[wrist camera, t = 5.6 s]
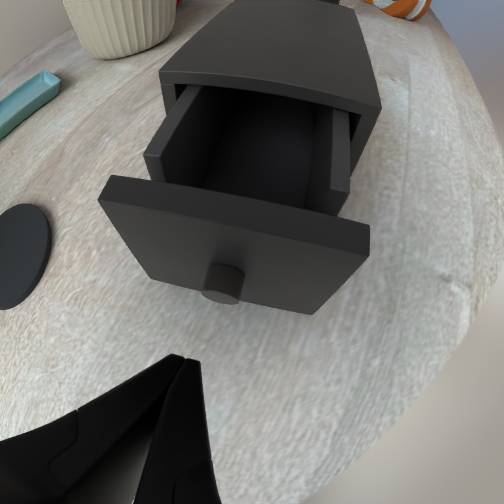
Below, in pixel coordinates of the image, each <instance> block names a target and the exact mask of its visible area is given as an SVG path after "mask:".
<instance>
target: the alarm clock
mask: <svg viewBox="0 0 504 504" xmlns="http://www.w3.org/2000/svg"><path fill="white" fill-rule="evenodd" d="M363 1H365V2H367V3H370V4H374V5H376V6H378V7H380V8H382V9H380V10H382V11H384V12H385V13H387V14H389V15H391V16H394V17H398V18H403V17H404V18H405V19H407V20H410V21H414V20H418V19H419V18H420V17H422V16H423V15H424V14H425V13H426V11H427V10H428V8H429V6H430V3H431V0H363Z"/></svg>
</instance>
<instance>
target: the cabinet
mask: <svg viewBox="0 0 504 504" xmlns="http://www.w3.org/2000/svg"><path fill="white" fill-rule="evenodd" d="M159 78H160V83H161V89H162V95H163V100H164V105H165V111H166V116H167V115H168V113H169V112H170V110H171V109H172V107H173V106H174V105H175V103H176V102H177V100H178V99H179V97H180V96H181V94H182V93H183V92H184V90H185V89H186V88H187V86H188V85H189V84H191V85H205V86H216V87H226V88H234V89H242V90H249V91H256V92H263V93H269V94H275V95H280V96H285V97H291V98H296V99H300V100H305V101H310V102H314V103H318V104H322V105H327V106H331V107H334V108H338V109H342V110H346V111H349V133H350V177H351V175H352V173H353V171H354V169H355V167H356V165H357V162H358V160H359V158H360V156H361V154H362V152H363V150H364V147H365V145H366V143H367V141H368V139H369V136H370V134H371V132H372V130H373V128H374V125H375V123H376V121H377V120H376V119H377V118H378V116H379V114H380V111H381V109H382V106H381V102H380V97H379V93H378V88H377V84H376V80H375V76H374V72H373V69H372V65H371V61H370V58H369V54H368V51H367V47H366V44H365V41H364V38H363V35H362V32H361V29H360V26H359V23H358V20H357V17H356V14H355V12H354V9H351V8H347V7H344V6H340V5H336V4H332V3H327V2H323V1H318V0H235V1H234V2H233V3H231V4H230V5H229V6H227V7H226V8H225V9H224V10H223V11H221V12H220V13H219V14H218V15H216V16H215V17H214V18H213V19H212V20H211V21H209V22H208V23H207V24H206V25H205V26H204V27H203V28H201V29H200V30H199V31H198V32H197V33H196V34H195V35H194V36H193V37H192V38H191V39H190V40H188V41H187V42H186V43H185V44H184V45H183V46H182V47H181V48H180V49H179V50H178V51H177V52H176V53H175V54H174V55H173V56H172V57H171V58H170V59H169V60H168V61H167V62H166V63H165V65H164V66H163V67H162V68H161V69H160V70H159Z"/></svg>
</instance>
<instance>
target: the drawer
mask: <svg viewBox="0 0 504 504" xmlns="http://www.w3.org/2000/svg"><path fill="white" fill-rule="evenodd" d="M143 157H144V160H145V163H146V166H147V169H148V172H149V174H150V177H151V180H152V181H151V180H145V179H138V178H131V177H124V176H116V175H111V176H110V178H109V180H108V181H107V183H106V185H105V187H104V189H103V190H102V192H101V194H100V196H99V198H98V202H99V203H100V205H101V207H102V208H103V210H104V211H105V213H106V215H107V216H108V218H109V219H110V221H111V222H112V224H113V225H114V227H115V228H116V230H117V231H118V233H119V234H120V236H121V237H122V239H123V240H124V242H125V243H126V245H127V246H128V248H129V249H130V251H131V252H132V253H133V255H134V256H135V258H136V259H137V261H138V262H139V263H140V265H141V266H142V268H143V269H144V270H145V272H146V273H147V274H148V276H149V277H150V278H151V279H154V280H158V281H162V282H166V283H169V284H173V285H177V286H181V287H185V288H189V289H194V290H198V291H201V293H202V295H203V296H204V297H206V298H208V299H210V300H212V301H215V302H218V303H223V304H237V303H239V300H241V301H245V302H250V303H254V304H259V305H264V306H268V307H273V308H278V309H283V310H288V311H293V312H298V313H303V314H308V315H313V314H314V313H315V312H316V311H317V310H318V309H319V308H320V307H321V306H322V305H323V304H324V303H325V302H326V301H327V300H328V299H329V298H330V297H331V296H332V295H333V294H334V293H335V292H336V291H337V290H338V289H339V288H340V287H341V286H342V285H343V284H344V283H345V282H346V281H347V280H348V278H349V277H350V276H351V275H352V274H353V273H354V272H355V271H356V270H357V269H358V268H359V267H360V266H361V265H362V264H363V262H364V261H365V260H366V259H367V258H368V257H369V254H370V225H367V224H364V223H360V222H356V221H352V220H348V219H343V218H339V217H337V216H338V214H339V212H340V210H341V209H342V207H343V205H344V203H345V201H346V199H347V197H348V195H349V193H350V133H349V111H346V110H342V109H338V108H334V107H331V106H327V105H322V104H318V103H314V102H310V101H305V100H300V99H296V98H291V97H285V96H280V95H275V94H269V93H263V92H256V91H249V90H242V89H234V88H226V87H216V86H205V85H191V84H189V85H188V86H187V88H186V89H185V90H184V92H183V93H182V94H181V96H180V97H179V99H178V100H177V102H176V103H175V105H174V106H173V107H172V109H171V110H170V112H169V113H168V115H167V116H166V118H165V119H164V121H163V123H162V124H161V126H160V127H159V129H158V130H157V132H156V134H155V135H154V137H153V138H152V140H151V142H150V143H149V145H148V147H147V148H146V150H145V152H144V153H143Z"/></svg>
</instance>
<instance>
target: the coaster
mask: <svg viewBox="0 0 504 504" xmlns="http://www.w3.org/2000/svg"><path fill="white" fill-rule="evenodd" d="M50 249H51V228H50V224H49V221H48V219H47V217H46V216H45V214H44V213H43V212H42V211H41V210H40V209H39V208H38V207H37V206H35V205H32V204H19V205H16V206H14V207H12V208H10V209H8V210H6V211H5V212H4V213H2V214H1V215H0V310H6V309H10V308H13V307H15V306H16V305H18V304H20V303H21V302H22V301H23V300H24V299H25V298H26V297H27V296H28V295H29V294H30V293H31V292H32V291H33V289H34V288H35V286H36V285H37V283H38V282H39V280H40V278H41V276H42V274H43V272H44V270H45V267H46V264H47V261H48V258H49V254H50Z"/></svg>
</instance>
